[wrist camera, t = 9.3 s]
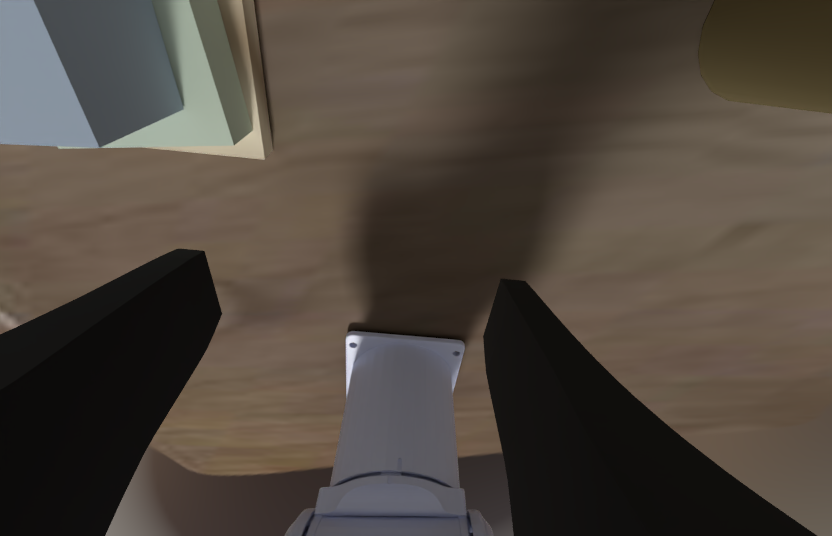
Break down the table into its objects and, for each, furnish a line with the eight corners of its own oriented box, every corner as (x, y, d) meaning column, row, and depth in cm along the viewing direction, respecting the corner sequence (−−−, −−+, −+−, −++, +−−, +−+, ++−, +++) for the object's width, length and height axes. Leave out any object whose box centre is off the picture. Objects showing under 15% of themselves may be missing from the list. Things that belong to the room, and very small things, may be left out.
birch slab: (278, 145, 18) (264, 159, 17) (90, 126, 18) (58, 138, 16) (248, -108, 13) (224, -122, 12) (-19, -144, 13) (-83, -165, 11)
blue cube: (183, 109, 14) (99, 147, 10) (57, 103, 13) (-76, 140, 10) (136, -52, 11) (-3, -81, 7) (-23, -62, 11) (-245, -96, 7)
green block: (252, 130, 16) (234, 145, 14) (94, 133, 16) (58, 148, 15) (191, -93, 12) (155, -107, 10) (-21, -87, 12) (-89, -99, 10)
